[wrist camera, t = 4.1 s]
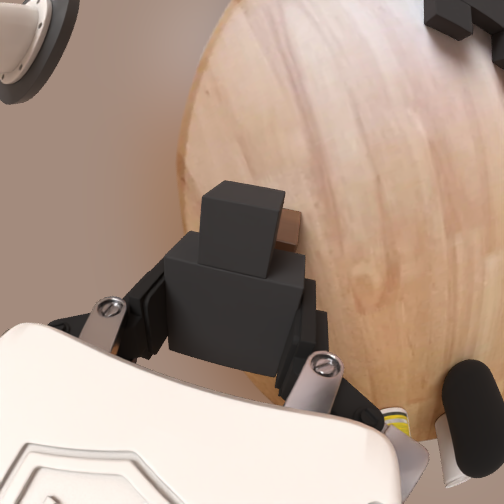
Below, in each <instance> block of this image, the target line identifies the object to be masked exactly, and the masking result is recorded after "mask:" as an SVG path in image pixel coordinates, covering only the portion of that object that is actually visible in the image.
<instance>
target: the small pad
mask: <svg viewBox="0 0 504 504" xmlns="http://www.w3.org/2000/svg"><path fill="white" fill-rule="evenodd" d="M284 198H285V191H280V190H275V189H270V188H265V187H260V186H254V185H249V184H243V183H238V182H232V181H226V180H225V181H223V182H222V183H220V184H219V185H217V186H216V187H214V188H213V189H212V190H210V191H209V192H207V193H206V194H205V195H203V196H202V204H201V217H200V230H199V232H194V231H189V232H188V233H187V234H186V235H185V236H184V237H183V238H182V239H181V240H180V241H179V242H178V243H177V244H176V245H175V246H174V247H173V248H172V249H171V250H170V251H169V252H168V253H167V254H166V255H165V256H164V276H165V293H166V312H167V327H168V343H169V349H170V350H172V351H175V352H178V353H181V354H184V355H188V356H191V357H194V358H197V359H201V360H204V361H208V362H211V363H215V364H219V365H222V366H226V367H230V368H234V369H239V370H242V371H247V372H251V373H255V374H260V375H264V376H269V377H275V376H276V374H277V371H278V365H279V362H280V359H281V356H282V353H283V350H284V347H285V344H286V341H287V338H288V335H289V332H290V328H291V325H292V322H293V319H294V316H295V312H296V311H298V308H299V304H300V301H301V298H302V294H303V291H304V282H305V255H302V254H298V253H293V252H288V251H284V250H279V249H274V248H275V244H276V239H277V234H278V229H279V224H280V218H281V213H282V208H283V203H284Z"/></svg>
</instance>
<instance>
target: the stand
mask: <svg viewBox="0 0 504 504" xmlns="http://www.w3.org/2000/svg"><path fill="white" fill-rule="evenodd" d="M300 218H301V212H298V211H294V210H289V209H285V208H282V213H281V218H280V224H279V229H278V234H277V239H276V244H275V248H274V249H279V250H284V251H288V252H293V253H296V248H297V243H298V235H299V227H300Z"/></svg>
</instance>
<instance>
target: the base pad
mask: <svg viewBox="0 0 504 504" xmlns="http://www.w3.org/2000/svg"><path fill="white" fill-rule="evenodd" d="M472 23H474V24H475V25H477V26H478V27H480V28H482V29H483V30H485V31H486V32H488V33H489V34H491V39H492V61H493V63H495V64H496V65H498V66H499V67H500V68H502V69H503V70H504V0H424V24H425V25H427V26H429V27H432V28H434V29H436V30H438V31H440V32H442V33H444V34H446V35H448V36H450V37H452V38H454V39H456V40H457V41H460V40H462V39H464V38H466V37H468V36H470V35H472V34H473V26H472Z"/></svg>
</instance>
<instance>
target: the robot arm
mask: <svg viewBox="0 0 504 504" xmlns="http://www.w3.org/2000/svg"><path fill="white" fill-rule="evenodd" d="M51 16H52V3H51V0H30V1H29V2H28V3H27V4H25V5H22V4H13V3H0V80H1V82H2V83H4V84H13V83H15V82H17V81H18V80H19V79H21V78H22V77H23V75H24V74H25V73H26V72H27V71H28V69H29V68H30V66H31V65H32V63H33V61H34V60H35V58H36V56H37V54H38V52H39V50H40V48H41V46H42V44H43V41H44V39H45V36H46V34H47V31H48V28H49V24H50V20H51ZM167 336H168V327H167V312H166V293H165V276H164V258H163V259H162V260H160V262H159V263H158V264H157V265H156V266H155V267H154V268H153V269H152V270H151V271H149V272H147V274H145V276H144V277H143V278H142V279H141V280H140V281H139V282H138V283H137V284H136V285H135V286H134V287H133V288H132V289H131V290H130V292H128V293H127V294H126V296H125V297H124V298H123V299H121V298H119V297H105V298H103V299H101V300H99V301H98V302H97V303H96V304H95V306H94V307H93V309H92V312H91V313H88V314H83V315H78V316H73V317H68V318H63V319H58V320H54V321H52V322H50V323H49V324H48V325H43V324H38V323H22V324H19V325H17V326H15V327H13V328H12V329H8V330H7V331H5V332H4V333H3V335H2V337H1V338H0V504H404V502H405V500H406V499H407V498H408V496H409V495H410V493H411V492H412V490H413V488H414V487H415V485H416V484H417V482H418V480H419V479H420V477H421V475H422V474H423V472H424V470H425V468H426V467H427V465H428V462H429V453H428V451H427V449H426V448H425V447H424V446H423V445H421V444H420V443H418V442H417V441H415V440H414V439H412V438H411V437H409V436H408V435H407V434H405V433H404V432H402V431H401V430H399V429H398V428H397V427H395V426H394V425H392V424H390V425H387V424H386V423H385V421H384V416H383V414H382V412H381V411H380V410H379V409H378V408H377V407H376V406H375V405H373V404H372V403H371V402H370V401H369V400H368V399H367V398H366V397H364V396H363V395H362V394H361V393H360V392H359V391H358V390H357V389H355V388H354V387H353V386H352V385H351V384H350V383H349V382H348V381H347V380H345V379H344V378H343V377H342V376H343V373H344V365H343V362H342V361H341V359H340V358H339V357H338V356H336V355H335V354H333V353H331V352H329V344H328V321H327V312H324V311H319V310H316V281H315V280H311V279H306V278H305V282H304V291H303V294H302V298H301V301H300V304H299V308H298V311H296V312H295V316H294V319H293V322H292V325H291V328H290V332H289V335H288V338H287V341H286V344H285V347H284V350H283V353H282V356H281V359H280V362H279V365H278V371H277V377H276V383H275V388H278V389H279V394H278V396H281V397H282V398H283V399H284V400H285V403H284V405H283V406H279V405H274V404H269V403H264V402H259V401H255V400H250V399H246V398H242V397H237V396H233V395H229V394H226V393H222V392H218V391H215V390H211V389H208V388H204V387H201V386H198V385H194V384H191V383H188V382H185V381H182V380H179V379H176V378H173V377H170V376H167V375H164V374H161V373H158V372H156V371H153V370H150V369H148V368H145V367H142V366H140V365H138V364H136V362H137V358H138V357H142V358H145V359H148V360H149V359H150V358H151V356H152V355H153V354H154V355H155V354H157V352H158V351H159V349H160V348H161V346H162V344H163V343H164V341H165V339H166V338H167Z"/></svg>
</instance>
